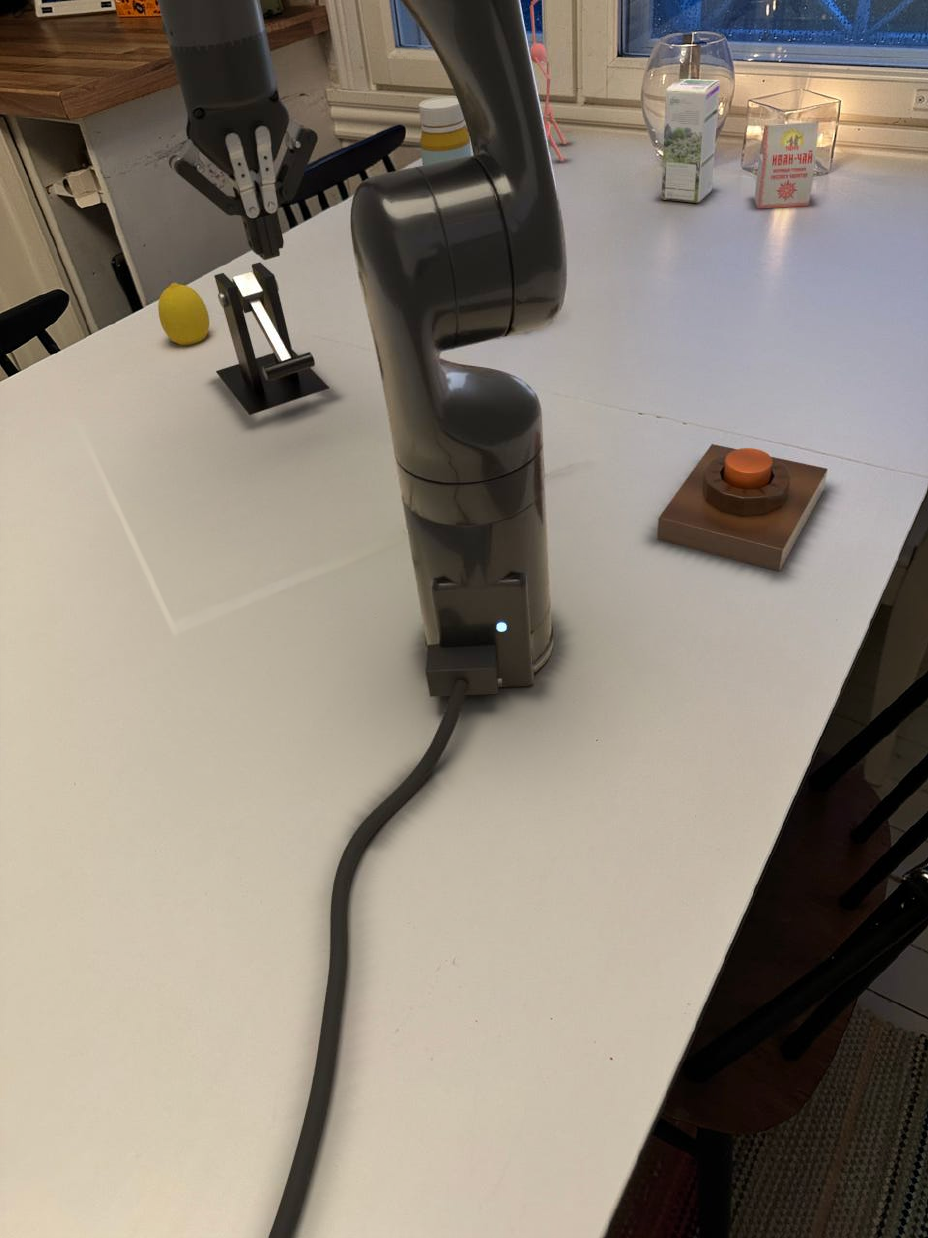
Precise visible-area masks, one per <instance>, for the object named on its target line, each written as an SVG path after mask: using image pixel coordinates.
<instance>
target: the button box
mask: <svg viewBox="0 0 928 1238" xmlns="http://www.w3.org/2000/svg"><path fill="white" fill-rule="evenodd" d="M734 450H737V448H733V447H729V446H723V445H719V444H715V443H714V444H713V443H711V444H710V446H709V448H708V449H707V450H706V451H705V453H704V454H703V455H702V457H701V458H700V460H699V461H698V462H697V464H696V465H695V467H694V468H693V470H692V471H691V472H690V474H689V475H688V477H686V479H685V481H684V482H683V483H682V485H681V486H680V488H678V490H677V491H676V493H675V494H674V496H673V497H672V498H671V500H670V501H669V503H668V504H667V505H666V507H665V508H664V510H663V511H662V513H660V515H659V517H658V520H657V538H656V539H657V540H659V541H662V542H666V543H670V544H674V545H677V546H681V547H685V548H689V549H693V550H697V551H700V552H703V553H708V554H710V555H715V556H719V557H723V558H726V559H730V560H733V561H737V562H741V563H744V564H749V565H752V566H756V567H760V568H763V569H767V570H771V571H773V572H780V571H781V569H782V567H783V565H784V564H785V562H786V560H787V558H788V556H789V554H790V553H791V551H792V549H793V547H794V545H795V543H796V541H797V539H798V538H799V536H800V534H801V532H802V530H804V529H803V528H805V525H806V523H807V521H808V520H809V518H810V517H811V514H812V512H813V510H814V508H815V507H816V506H817V503H818V501H819V499H820V497H821V495H822V494H823V492H824V490H825V486H826V480H827V476H828V475H827V474H828V468H827V467H826V468H825V467H821V466H816V465H813V464H812V465H811V464H808V463H803V462H799V461H793V460H789V459H784V458H779V457H775V456H770V455H769V456H770V457H771V458H772V468H771V475H770V481H769V483H768V484H767V485H766V486H764V487H762V488H760V489H748V490H744V489H740V488H736V487H732V486H730V485H729V484H727V483H726V482H725V480H724V468H725V459H726V456H727V455H728V454H729V453H730V452H732V451H734Z"/></svg>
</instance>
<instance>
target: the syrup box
mask: <svg viewBox="0 0 928 1238" xmlns="http://www.w3.org/2000/svg"><path fill="white" fill-rule="evenodd" d="M720 88H721V81H720V80H719V79H698V78H697V79H696V78H694V79H693V78H680V79H678V80H676V81H674V82H673V83H671V84H670V85H669V86H668V87H667V88H666V89H665V97H664V98H665V101H664V122H663V123H664V125H663V148H662V149H663V151H662V173H661V200H664V201H671V202H673V201H674V202H681V203H682V202H683V203H693V204H698V203H700V202H701V201H703V199H705V198H706V197H707V196H708V195H709V194H710V193H711V192H712V190H713V183H714V182H713V180H714V164H715V152H716V151H715V150H716V138H717V137H716V136H717V126H718V115H719V101H720V91H721V90H720Z"/></svg>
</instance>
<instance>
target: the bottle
mask: <svg viewBox="0 0 928 1238" xmlns="http://www.w3.org/2000/svg"><path fill="white" fill-rule="evenodd" d="M418 111H419V112H418V113H419V121H420V123H421V124H420V127H421V135H420V141H419V144H420V145H419V146H420V153H421V162H422V166H423V165H428V164H433V163H438V162H443V161H448V160H454V159H459V158H464V157H470V156H472V148H471V140H470V137H469V133H468V129H467V126H466V122H465V119H464V116H463V113H462V110H461V107H460V105H459V102H458V99H457V97H456V95H455V96H454V95H450V96H449V95H445V96H437V97H432V98H427V99H425V100H423V101H421V102H419V104H418Z"/></svg>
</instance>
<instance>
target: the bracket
mask: <svg viewBox="0 0 928 1238" xmlns="http://www.w3.org/2000/svg"><path fill="white" fill-rule="evenodd" d="M251 269H252V272H253V273H254V275H255V277H256V279H257V281H258V282H259V284H260V286H261V288H262V290H263V294H264V306H265V307H264V308H265V310H266V312H267V314H268V316H269V318H270V319H271V321H272V323H273V325H274V327H275V329H276V330H277V332H278V334H279V336H280V338H281V340H282V341H283V343H284V345H285V347H286V349H287V351H288V352H289V354H290V356H291V358H292V357H295V356H298V354H297V352H295V351H294V349H293V347H292V342H291V340H290V336H289V335H290V334H289V331H288V325H287V322H286V317H285V314H284V309H283V305H282V301H281V297H280V293H279V290H280V288H279V284H278V281H277V280H276V275H275V274H274V273H272V271H271V270H270V269H268V268H267V267H266V266H265V265H264V263H262V262H261V261H260V262H257V263H253V264H251ZM213 277H214V281H215V284H216V287H217V291H218V293H217V298H218V301H219V304H220V306H221V307H222V309H223V312H224V316H225V319H226V323H227V326H228V329H229V333H230V337H231V340H232V344H233V347H234V351H235V355H236V358H237V361H238V363H237V364H234V365H230V366H227V367H225V368H224V367H223V368H221V369H218V370H216V371H215V373H216V374H217V375H218V376H219V378H220V379H221V380H222V382H223V383H224V384H225V386H226V387H227V389H228V390H229V391H230V392H231V393H232V394H233V396H234V397H235V399H236V400H237V401H238V402H239V403H240V405H241V406H242V408H243V409H244V410H245V412H247V414H248V415H249V416H252V415H254V414H257V413H260V412H263V411H267V410H270V409H272V408H275V407H278V406H281V405H284V404H287V403H290V402H293V401H295V400H299V399H302V398H305V397H309V396H311V395H314V394H316V393H320V392H322V391H326V390H328V389H330V387H329V386H328V384H327V383H326V382H324V381H323V379H322V378H321V377H320V376H319V375H318V374H317V373H316V372H315V371H314V370H313V369H312V367H311V368H308V369H305V370H301V371H298V372H295V373H292V374H289V375H286V376H283V377H280V378H277V379H274V380H271V381H267V380H266V378H265V376H264V374H263V370H262V368H263V367H264V366H267V365H270V364H273V363H277V362H279V361H278V359H277V357H276V356H275V354H274V352H273V351H272V352H271V353H268V354H265V355H262V356H259V357H256V353H255V350H254V347H253V343H252V338H251V335H250V331H249V327H248V324H247V320H246V316H245V313H244V311H243V308H242V305H241V301H240V297H239V293H238V290H237V286H236V285H235V284H234V283H233V280H231V279H230V277H228V275H226V274H225V272H221V273H218V274H214V276H213Z"/></svg>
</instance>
